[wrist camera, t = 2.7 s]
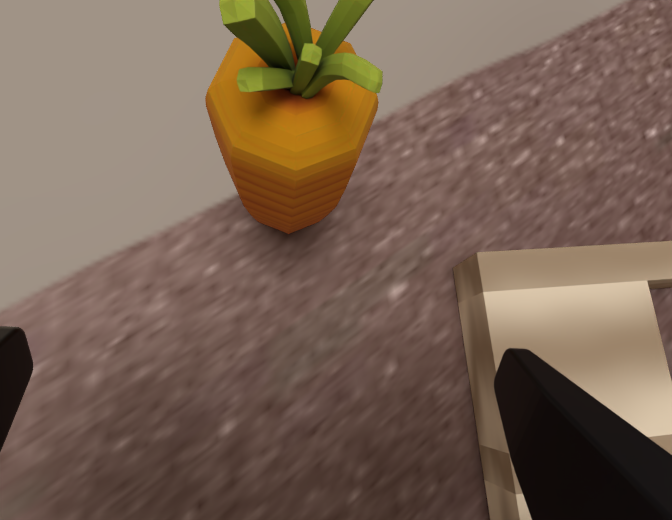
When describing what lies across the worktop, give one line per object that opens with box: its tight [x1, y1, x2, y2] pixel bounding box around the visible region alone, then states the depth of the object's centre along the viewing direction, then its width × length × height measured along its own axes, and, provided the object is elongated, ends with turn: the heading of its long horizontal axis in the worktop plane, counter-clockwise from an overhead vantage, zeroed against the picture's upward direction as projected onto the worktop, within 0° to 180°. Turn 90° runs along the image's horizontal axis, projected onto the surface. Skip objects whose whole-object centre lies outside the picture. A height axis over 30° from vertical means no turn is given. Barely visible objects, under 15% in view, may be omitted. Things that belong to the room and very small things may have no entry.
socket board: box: [453, 241, 672, 520], centre depth 22 cm, size 18×16×3 cm
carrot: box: [206, 0, 382, 234], centre depth 17 cm, size 5×5×15 cm
